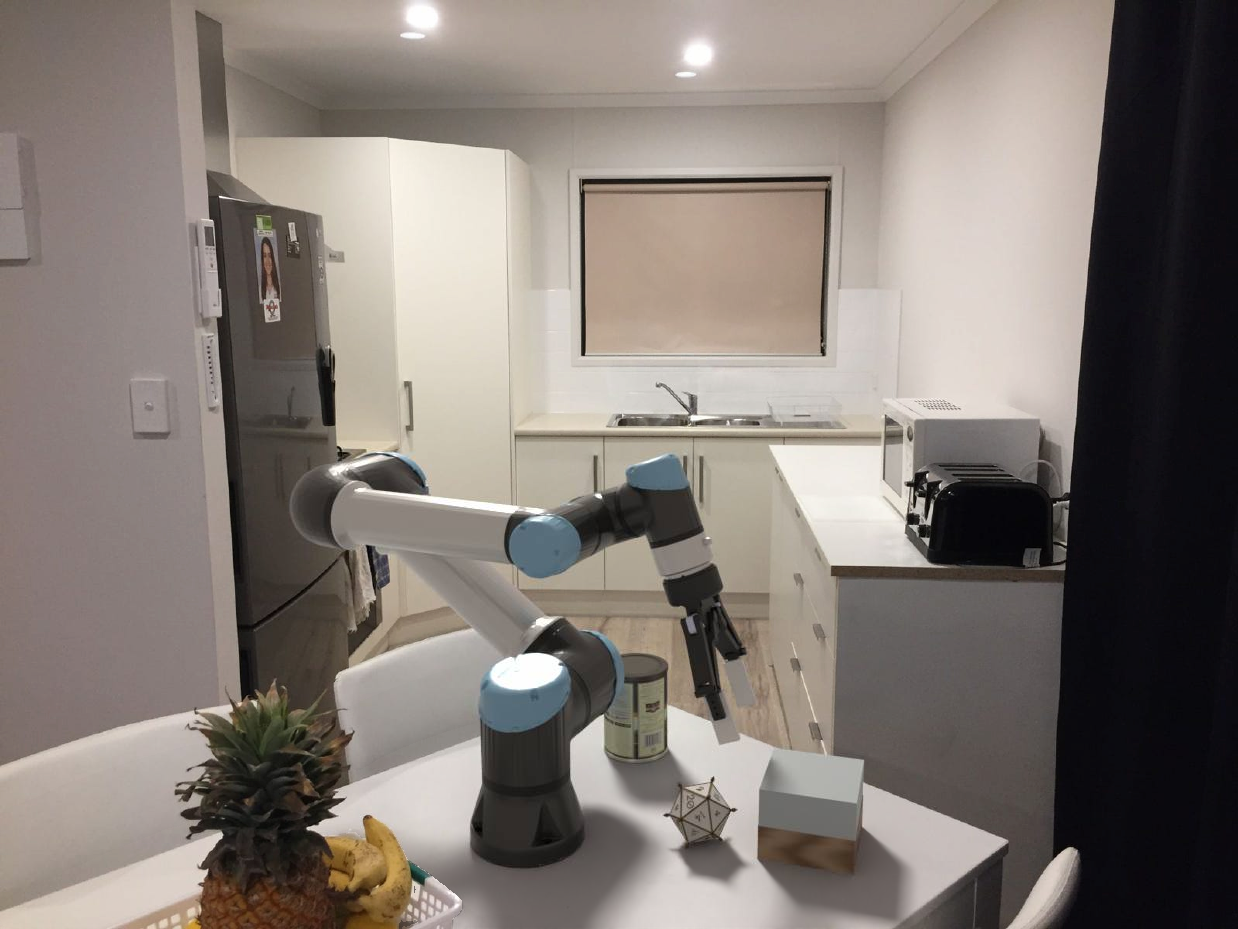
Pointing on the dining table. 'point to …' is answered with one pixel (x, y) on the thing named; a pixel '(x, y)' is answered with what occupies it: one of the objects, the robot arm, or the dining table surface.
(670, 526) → the robot arm
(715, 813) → the game die
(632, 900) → the dining table surface
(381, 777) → the dining table surface
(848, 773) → the tower top
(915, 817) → the dining table surface
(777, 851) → the tower base
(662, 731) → the coffee can
